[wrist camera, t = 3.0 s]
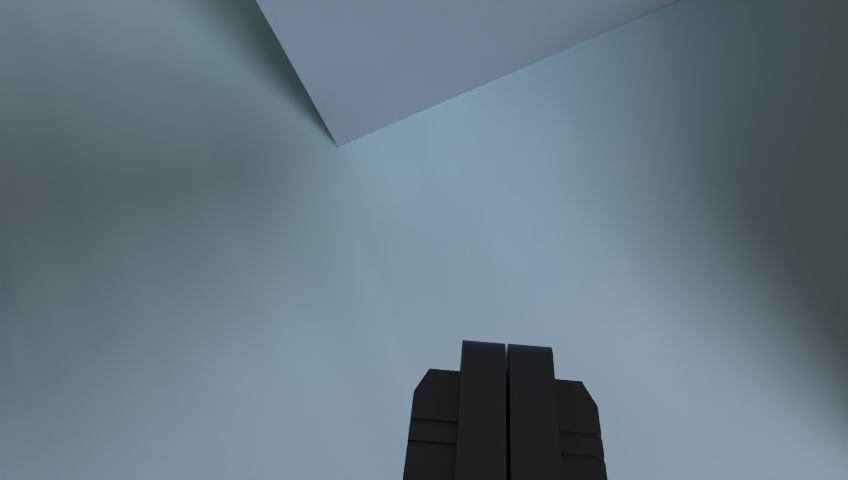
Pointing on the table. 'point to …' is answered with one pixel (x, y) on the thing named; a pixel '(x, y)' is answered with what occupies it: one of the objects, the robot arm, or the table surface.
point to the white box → (424, 48)
